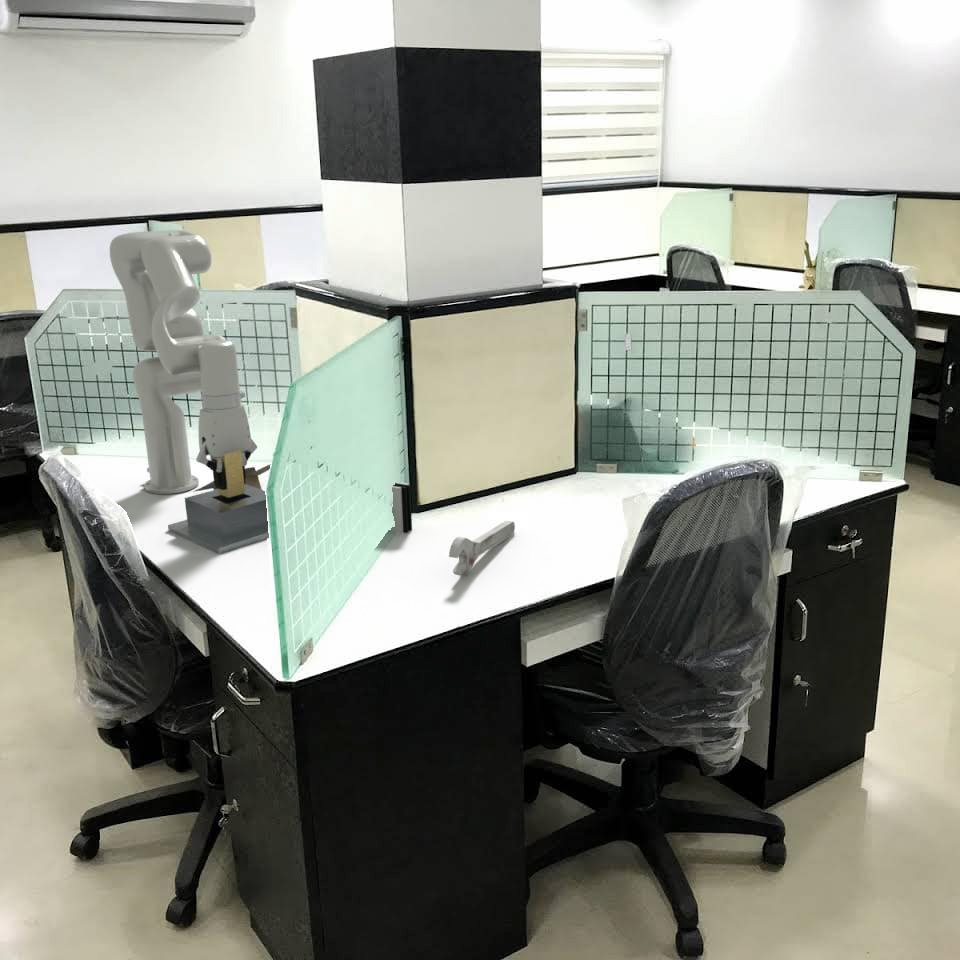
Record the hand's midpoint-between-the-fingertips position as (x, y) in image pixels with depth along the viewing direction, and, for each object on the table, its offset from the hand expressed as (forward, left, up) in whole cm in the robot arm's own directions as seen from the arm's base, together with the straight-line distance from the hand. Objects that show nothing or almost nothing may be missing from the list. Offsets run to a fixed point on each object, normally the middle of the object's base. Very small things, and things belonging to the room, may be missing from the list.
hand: (230, 485), depth 210 cm
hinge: (+23, +21, -10) cm, 33 cm away
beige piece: (-19, +13, -10) cm, 25 cm away
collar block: (0, 0, -10) cm, 10 cm away
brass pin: (0, 0, -2) cm, 2 cm away
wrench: (+51, +24, -10) cm, 57 cm away
